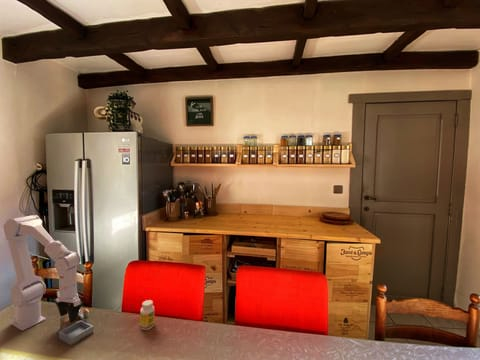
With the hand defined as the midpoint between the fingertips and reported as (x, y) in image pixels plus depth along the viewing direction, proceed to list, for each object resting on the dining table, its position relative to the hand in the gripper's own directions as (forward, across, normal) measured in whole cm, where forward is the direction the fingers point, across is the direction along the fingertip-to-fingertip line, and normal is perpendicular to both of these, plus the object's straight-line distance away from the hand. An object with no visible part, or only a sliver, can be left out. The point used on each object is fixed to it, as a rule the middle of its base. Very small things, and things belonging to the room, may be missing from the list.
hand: (68, 317), depth 93 cm
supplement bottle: (+5, +26, +17) cm, 31 cm away
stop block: (+4, 0, 0) cm, 4 cm away
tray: (+4, +7, 0) cm, 8 cm away
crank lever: (+4, -2, +6) cm, 7 cm away
